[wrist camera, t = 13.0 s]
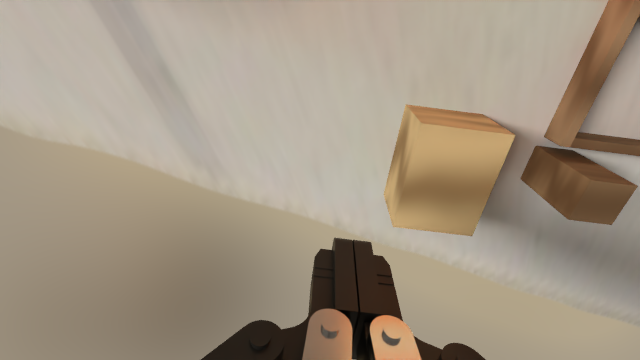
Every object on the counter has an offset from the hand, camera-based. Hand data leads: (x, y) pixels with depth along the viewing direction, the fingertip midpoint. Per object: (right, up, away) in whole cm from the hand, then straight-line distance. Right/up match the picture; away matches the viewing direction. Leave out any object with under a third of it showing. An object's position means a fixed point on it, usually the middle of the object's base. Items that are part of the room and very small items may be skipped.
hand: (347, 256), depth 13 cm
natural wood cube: (+8, +5, +13) cm, 16 cm away
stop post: (+17, +4, +13) cm, 22 cm away
